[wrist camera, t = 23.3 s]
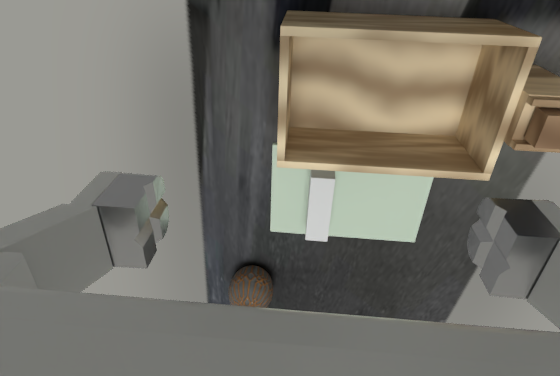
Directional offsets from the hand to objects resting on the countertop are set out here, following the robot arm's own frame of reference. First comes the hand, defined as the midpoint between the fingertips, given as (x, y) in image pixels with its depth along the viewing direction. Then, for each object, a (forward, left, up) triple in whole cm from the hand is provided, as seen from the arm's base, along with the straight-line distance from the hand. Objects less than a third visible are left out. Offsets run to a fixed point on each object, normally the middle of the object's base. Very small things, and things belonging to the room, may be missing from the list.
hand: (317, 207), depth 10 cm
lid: (+23, +6, -38) cm, 45 cm away
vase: (+40, -7, -37) cm, 55 cm away
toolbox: (+7, +11, -37) cm, 39 cm away
